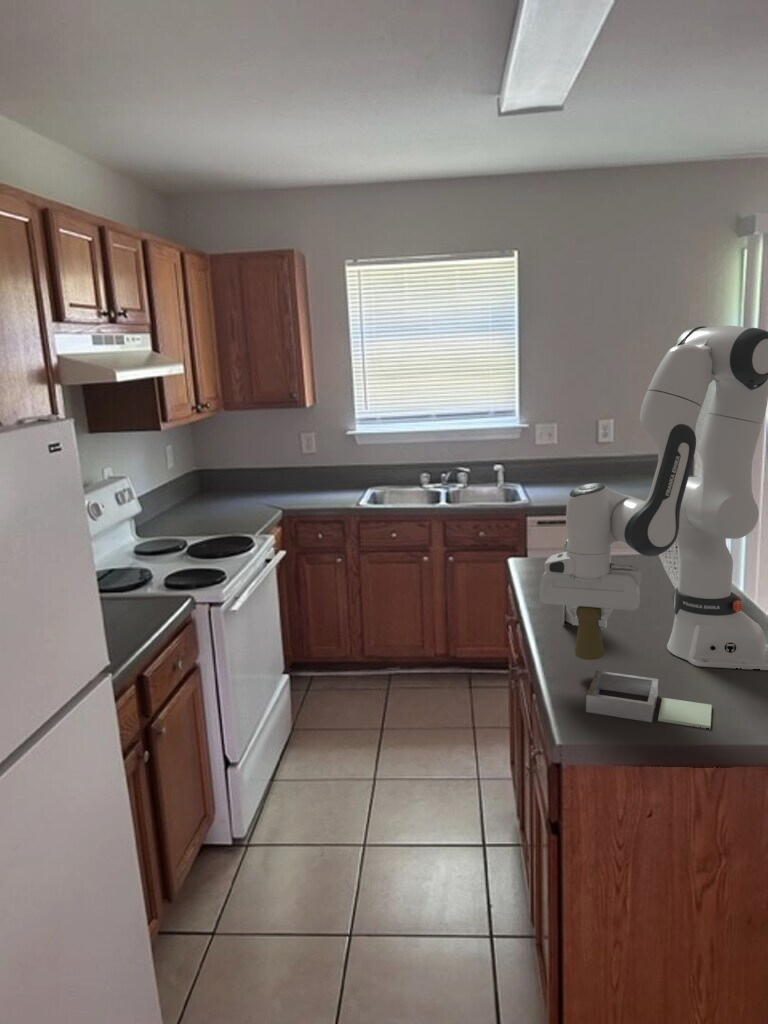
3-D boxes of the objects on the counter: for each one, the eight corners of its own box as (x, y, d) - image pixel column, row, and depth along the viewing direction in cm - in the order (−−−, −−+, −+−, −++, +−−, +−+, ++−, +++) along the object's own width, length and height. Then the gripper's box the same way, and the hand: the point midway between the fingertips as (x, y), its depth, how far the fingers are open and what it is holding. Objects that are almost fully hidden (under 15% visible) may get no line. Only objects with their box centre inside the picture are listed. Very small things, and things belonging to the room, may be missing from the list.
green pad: (711, 707, 147) (711, 704, 147) (710, 729, 139) (710, 726, 139) (662, 700, 151) (662, 697, 151) (658, 720, 143) (658, 717, 143)
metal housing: (657, 695, 153) (658, 679, 152) (651, 722, 142) (652, 705, 142) (595, 686, 158) (596, 670, 157) (586, 711, 147) (586, 695, 147)
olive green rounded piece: (599, 647, 165) (598, 599, 163) (608, 658, 160) (607, 608, 157) (571, 649, 165) (570, 601, 163) (579, 660, 159) (578, 610, 157)
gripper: (643, 560, 157) (642, 624, 160) (543, 555, 165) (544, 616, 168) (639, 569, 151) (639, 635, 154) (536, 564, 159) (538, 626, 162)
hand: (589, 625), depth 161 cm, fingers closed on olive green rounded piece, 4 cm apart
